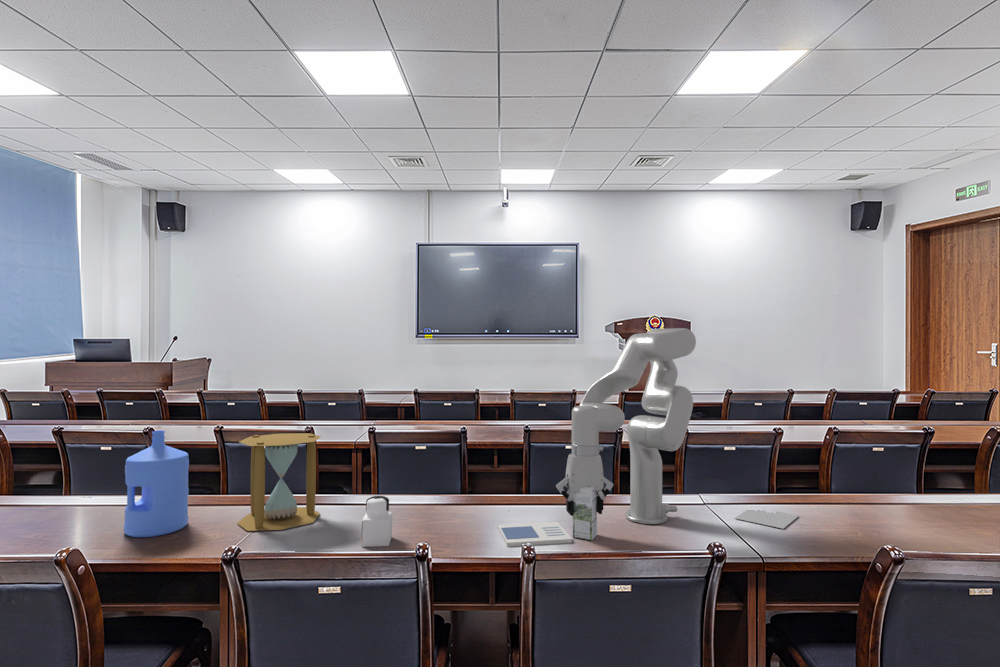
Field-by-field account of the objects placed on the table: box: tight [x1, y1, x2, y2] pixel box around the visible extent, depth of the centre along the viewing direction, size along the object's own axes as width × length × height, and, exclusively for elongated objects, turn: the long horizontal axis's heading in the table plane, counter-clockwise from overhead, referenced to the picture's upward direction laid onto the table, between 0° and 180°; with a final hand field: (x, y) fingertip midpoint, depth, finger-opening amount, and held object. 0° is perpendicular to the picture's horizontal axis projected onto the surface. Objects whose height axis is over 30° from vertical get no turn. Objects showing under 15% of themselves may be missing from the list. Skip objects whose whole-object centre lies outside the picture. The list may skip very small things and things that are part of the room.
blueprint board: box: [497, 521, 573, 548], centre depth 152 cm, size 18×14×1 cm
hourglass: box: [237, 432, 322, 532], centre depth 165 cm, size 24×22×25 cm
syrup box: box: [572, 486, 598, 541], centre depth 151 cm, size 6×6×14 cm
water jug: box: [123, 430, 190, 538], centre depth 156 cm, size 16×16×28 cm
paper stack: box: [734, 509, 799, 529], centre depth 162 cm, size 23×25×1 cm
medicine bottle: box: [361, 495, 393, 548], centre depth 146 cm, size 7×7×12 cm
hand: (584, 513), depth 151 cm, fingers closed on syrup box, 7 cm apart
